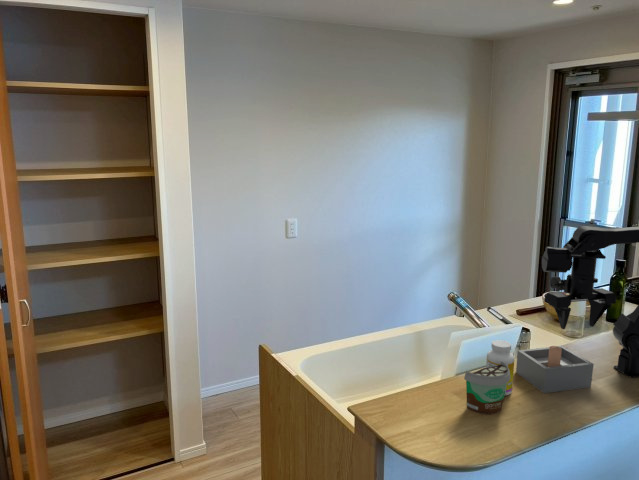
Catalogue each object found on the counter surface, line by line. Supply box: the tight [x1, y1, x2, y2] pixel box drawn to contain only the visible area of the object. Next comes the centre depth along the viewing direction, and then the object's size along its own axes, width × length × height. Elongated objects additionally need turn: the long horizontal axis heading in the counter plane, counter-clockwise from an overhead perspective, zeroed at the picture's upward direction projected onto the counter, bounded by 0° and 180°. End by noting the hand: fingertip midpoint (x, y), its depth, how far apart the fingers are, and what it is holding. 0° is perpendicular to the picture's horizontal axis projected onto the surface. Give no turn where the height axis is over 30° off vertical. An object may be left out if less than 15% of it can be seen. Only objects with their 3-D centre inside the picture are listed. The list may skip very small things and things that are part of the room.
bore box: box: [515, 345, 594, 394], centre depth 138 cm, size 14×12×6 cm
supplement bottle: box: [485, 339, 515, 397], centre depth 131 cm, size 7×7×13 cm
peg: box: [547, 345, 562, 367], centre depth 137 cm, size 3×3×8 cm
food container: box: [464, 361, 510, 415], centre depth 122 cm, size 12×6×10 cm, turn 117°
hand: (577, 327), depth 143 cm, fingers open, 9 cm apart
